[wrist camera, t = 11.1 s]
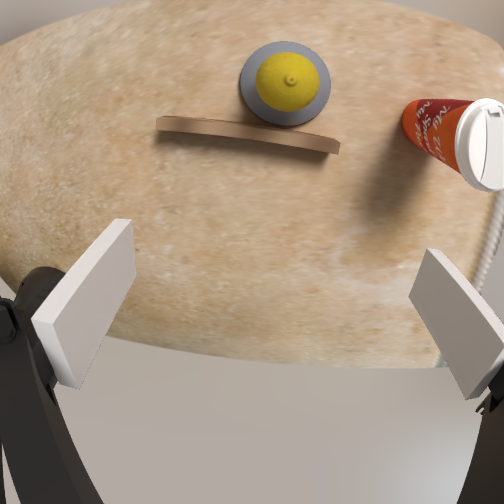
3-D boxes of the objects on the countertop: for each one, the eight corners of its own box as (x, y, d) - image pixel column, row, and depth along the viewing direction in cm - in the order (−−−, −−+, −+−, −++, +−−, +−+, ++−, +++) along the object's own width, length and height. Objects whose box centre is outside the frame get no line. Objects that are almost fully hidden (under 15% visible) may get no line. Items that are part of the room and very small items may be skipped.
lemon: (271, 118, 30) (273, 125, 23) (246, 70, 27) (241, 62, 20) (320, 97, 28) (339, 99, 21) (297, 49, 26) (309, 35, 19)
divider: (164, 126, 31) (155, 129, 28) (165, 115, 30) (156, 118, 28) (331, 149, 32) (338, 154, 29) (334, 138, 31) (340, 143, 28)
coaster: (235, 118, 30) (234, 118, 30) (247, 36, 26) (247, 35, 25) (321, 132, 31) (322, 133, 30) (335, 52, 26) (336, 51, 26)
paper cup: (385, 96, 28) (455, 107, 16) (441, 85, 27) (522, 96, 15) (401, 163, 32) (468, 208, 20) (454, 148, 30) (530, 186, 18)
